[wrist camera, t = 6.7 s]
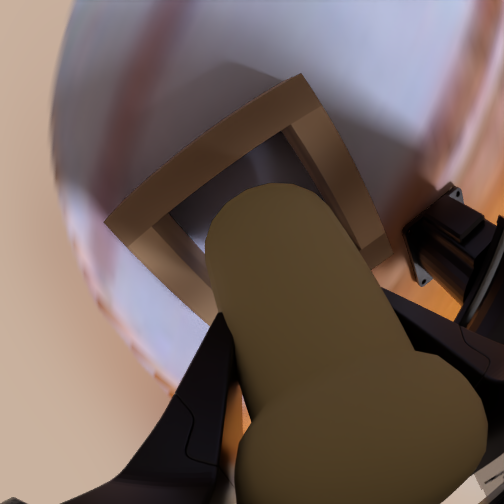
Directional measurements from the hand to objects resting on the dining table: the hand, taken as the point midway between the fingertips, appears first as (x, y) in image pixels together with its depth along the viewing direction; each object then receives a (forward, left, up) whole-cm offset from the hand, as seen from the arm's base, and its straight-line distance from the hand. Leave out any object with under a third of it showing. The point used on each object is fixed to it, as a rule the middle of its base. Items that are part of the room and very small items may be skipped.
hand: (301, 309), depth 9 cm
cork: (0, 0, -4) cm, 4 cm away
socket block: (0, 0, -8) cm, 8 cm away
